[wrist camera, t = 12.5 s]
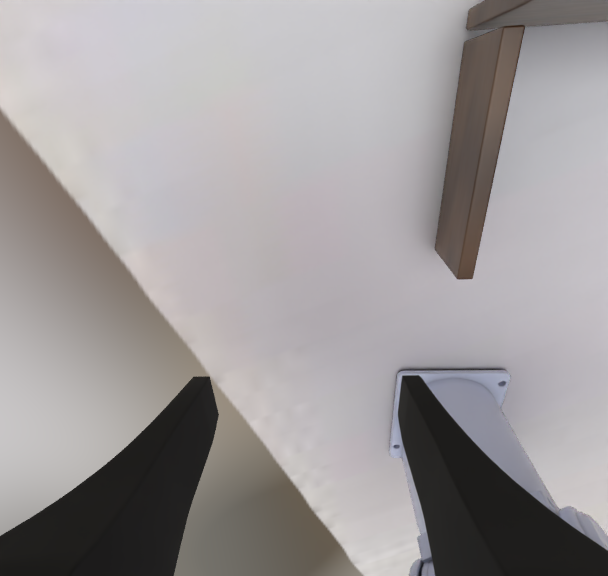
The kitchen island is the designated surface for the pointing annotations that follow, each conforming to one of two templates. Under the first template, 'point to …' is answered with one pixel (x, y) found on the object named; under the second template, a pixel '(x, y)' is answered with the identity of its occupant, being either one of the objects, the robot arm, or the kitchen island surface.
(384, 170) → the kitchen island surface
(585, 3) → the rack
